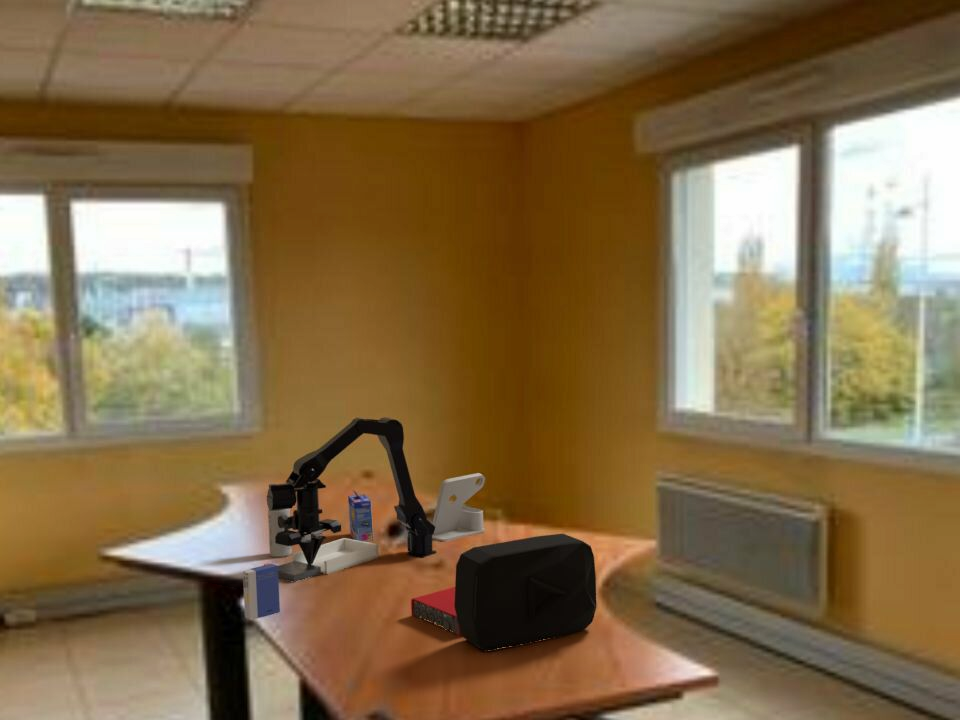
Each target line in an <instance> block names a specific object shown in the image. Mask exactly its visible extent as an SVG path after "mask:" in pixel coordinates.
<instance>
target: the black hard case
mask: <svg viewBox="0 0 960 720" xmlns="http://www.w3.org/2000/svg"><path fill="white" fill-rule="evenodd" d="M595 565H596V564H595V555H594V553H593V548H592V546H591V545H589V544H588V543H587V542H585V541H583V540H581V539H578V538H576V537H573V536H570V535H569V534H566V533H556V534H547V535H546V534H545V535H539V536H533V537H532V536H531V537H526V538H519V539H515V540H507V541H503V542H497V543H491V544H484V545H479V546H473V547H472V548H470V549H468V550H465V551H464V552H463V553H461V554H460V555H459V558H458V560H457V563H456V565H455V586H454V587H455V604H454V607H455V611H456V615H457V620H458V624H459V628H460V633H461V636H460V637H462V638H463V639H465V640H466V641H468V642H470V643H471V644H473V645H474V646H476V647H477V648H479V649H482V650H484V651H485V650H487V651H486V652H489V651H488V650H493V651H495V650H494V649H497V648H502V647H509V646H515V647H517V646H516V645H520V644H525V643H530V642H535V641H539V640H543V639H548V638H552V639H554V638H553V637H556V638H559V637H558V636H560V637H563V636H562V635H564V636H568V635H571V634H574V633H577V632H579V631H581V630H585V629H587V628H588V627H589V626H590V625H591V624H592V623H593V621H594V618H595V614H596V610H597V606H598V605H597V581H596V580H597V576H596V566H595ZM567 634H568V635H567ZM548 640H549V639H548ZM535 643H536V642H535ZM530 644H531V643H530ZM525 645H526V644H525ZM520 646H521V645H520ZM509 648H510V647H509Z"/></svg>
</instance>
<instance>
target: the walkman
mask: <svg viewBox="0 0 960 720" xmlns="http://www.w3.org/2000/svg"><path fill="white" fill-rule="evenodd" d="M278 566H279V565H277V564H274V563H269V562H268V563H263V565H260V566H256V567H252V568H248V569H247V568H246V569H244V570H242V580H243V582H242V583H243V601H244V602H243V603H244V618H245V619H246V620H248V621H254V620H256V619H257V620H258V619H261V618H264V617H268V616H271V615H276V614H279V613H280V612H281V606H280V584H279V583H280V582H279V578H278ZM278 612H279V613H278ZM275 613H276V614H275Z"/></svg>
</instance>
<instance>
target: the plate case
mask: <svg viewBox="0 0 960 720" xmlns="http://www.w3.org/2000/svg"><path fill="white" fill-rule="evenodd" d="M291 554H292V555H291V556H292V557H291V558H292V559H291V560H292V561H291V562H293V561H298V562H302V563H306V564H308V563H307V561H306V558H305V556H304V554H303V551H302V550H301V551H297V552H295V553H291ZM378 557H379V544H378V543H374V542H368V541H358V540H355V539H354V538H353V539H351V538H346V537H342V538H340V539H336V540H333V541H330V542H326V543H322V544H321V546H320V548H319V550H318V552H317V555H316V557H315V559H314V562H313V564H311V565H315V566H319V567H321V573H325V574H324V575H326V574H328V575H330V574H329V573H331V574H333V573H332V572H334V571H337V572H339V571H338V570H340V571H342V570H341V569H343V570H345V569H344V568H346V569H349V568H351V567H350V566H352V567H355V566H358V565H361V564H364V563H366V562H370V561H373V560H375V558H376V559H379V558H378ZM372 559H373V560H372ZM363 562H364V563H363ZM354 565H355V566H354ZM348 567H349V568H348ZM334 573H335V572H334Z"/></svg>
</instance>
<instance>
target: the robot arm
mask: <svg viewBox="0 0 960 720" xmlns="http://www.w3.org/2000/svg"><path fill="white" fill-rule="evenodd" d="M364 434H367V435H372V436H373V435H374V436H377V438H378V440H379V442H380V444H381V445H382V446H383V448H384V450H385V451H386V454H387V457H388V461H389V465H390V469H391V472H392V476H393V480H394V484H395V487H396V493H397V495H398V504H397V505H394V506H393V508H394V511H395V513H396V520H397V521H399V523H401V524H402V525H403V526H404V527H405V530H406V531H407V537H406V538H407V551H406V552H404V555H406V556H410V557H415V558H421V559H422V558H426V557H428V556H431V555H434V554H436V553H437V550H434V549H433V539H432V534H434V531H435V526H434V525H433V524H432V522H431V521H429V520H428V517H427V514H426V512H425V510H424V507H423V505H422V504H421V502H420V501H419V499H418V498H417V496H416V493H415V489H414V485H413V482H412V479H411V478H412V477H411V475H410V471H409V467H408V464H407V460H406V456H405V451H404V443H405V434H404V427H403V424H402V422H401V421H399V420H397V419H394V418H391V417H385V416H384V417H381V418H379V419H373V418H372V419H371V418H362V417H355V418H353V419H352V420H351V422H350V423H348V424H347V425H346V426H345V427H343V428H342V429H341V430H340V431H339V432H338V433H336V434H335V435H334V436H332V437H331V438H330V439H329V440H328V441H327V442H325V443H324V444H323V445H322V446H320V447H319V448H317V449H315V450H313V451H311V452H308V453H307V454H305V455H303V456H300V458H298V459H297V460H295V462H294V463H293V468H292V471H291V473H290V474H289V476H288V477H287V479H286V480H285V483H272V484H271V483H270V484H269V485H268V490H267V492H266V493H267V495H266V503H267V508H268V510H270V511H274V510H282V509H290V510H291V509H293V507H294V506H296V509H294V510H293V514H292V516H291V515H290V517H287V515H282V516H279V517H278V526H279V528H284V531H282V532H278V533H277V534H276V536H275V543H276V544H281V545H286V546H292V547H293V546H296V545H298V546H299V547H300V549H301V551H303V554H304V556H305V558H306V561H307V563H308V564H313V562H314V559H315V557H316V555H317V552H318V550H319V548H320V546H321V545H323V543H324V541H325V540H326V539H327V536H324V534H323V532H327V531H329V530H330V532H331V533H332V534H337V533H340V532H342V524H341V522H340V521H339V520H336V519H331V518H325V519H321V520H320V514H323V509H322V508H320V505H319V504H320V503H319V502H320V501H319V498H320V497H319V490H320V489H326V488H327V486H326V485H325V484H324V483H323V482H322V481H321V479H320V478H319V477H321V475H322V474H323V473H324V471H326V468H327V466H328V465H329V463H330V462H331V461H332V460H333V459H335V458H336V457H338V455H340V454H341V453H343V451H344V450H346V449H347V448H348V447H349V446H350V445H351V444H352V443H354V442H355V441H357V439H359V438H360V437H361V436H363V435H364ZM288 529H291V531H290V530H288Z"/></svg>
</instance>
